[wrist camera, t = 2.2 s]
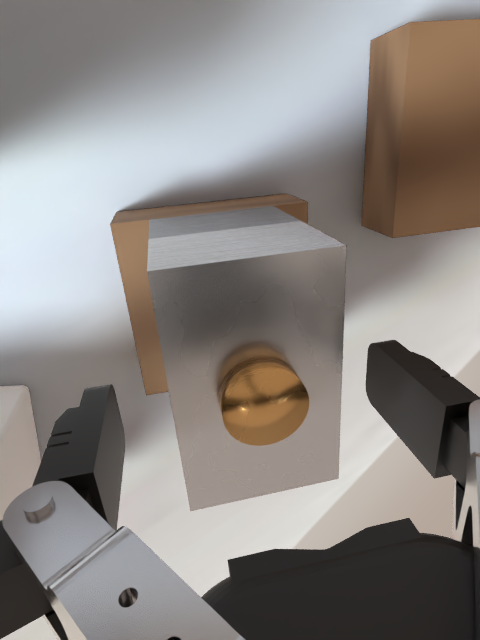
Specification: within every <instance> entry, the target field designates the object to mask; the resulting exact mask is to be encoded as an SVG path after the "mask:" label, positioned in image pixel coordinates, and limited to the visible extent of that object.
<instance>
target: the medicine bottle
mask: <svg viewBox="0 0 480 640" xmlns="http://www.w3.org/2000/svg"><path fill="white" fill-rule="evenodd" d="M40 463H41V457H40V451H39V445H38V439H37V433H36V428H35V422H34V416H33V410H32V404H31V398H30V392H29V389H28V387H26V386H24V385H14V386H0V521H1V520H3V515H4V513H5V511H6V509H7V507H8V506H9V505H10V503H11V502H12V501H13V500H14V499H15V498H16V497H17V496H19V495H20V494H21V493H23V492H24V491H25V490H27V489H29V488H31V487H32V485H33V482H34V480H35V477H36V474H37V472H38V469H39V466H40Z"/></svg>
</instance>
